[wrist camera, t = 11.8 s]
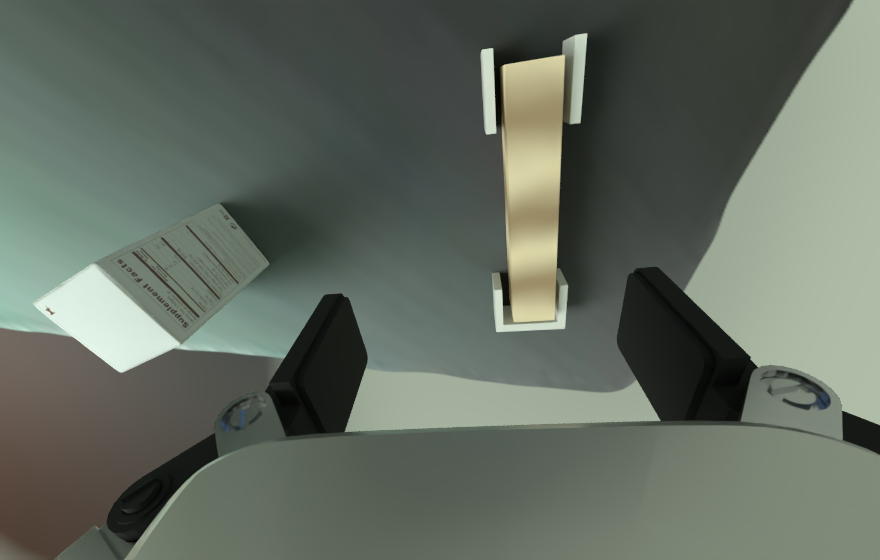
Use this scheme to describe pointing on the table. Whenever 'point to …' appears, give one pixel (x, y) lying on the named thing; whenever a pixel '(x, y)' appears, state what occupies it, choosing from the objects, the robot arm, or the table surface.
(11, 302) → the table surface
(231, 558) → the robot arm
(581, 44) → the end cap
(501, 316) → the end cap
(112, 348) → the supplement box
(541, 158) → the slat
